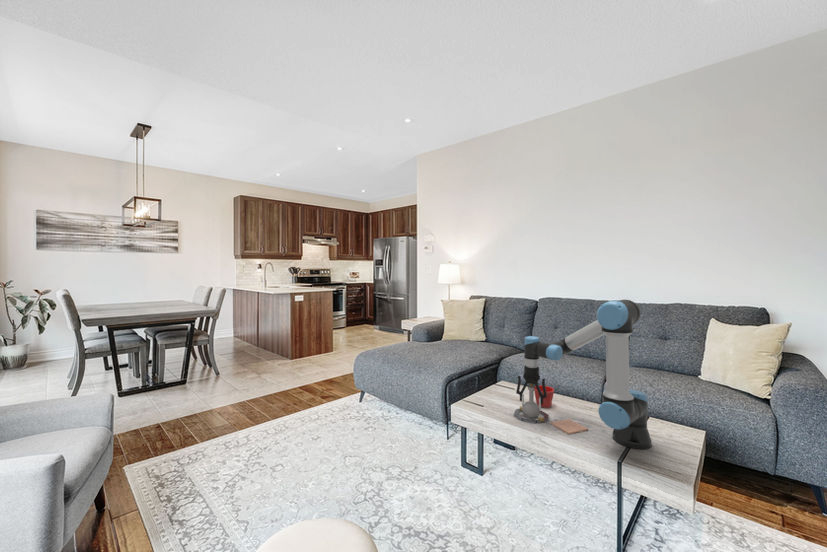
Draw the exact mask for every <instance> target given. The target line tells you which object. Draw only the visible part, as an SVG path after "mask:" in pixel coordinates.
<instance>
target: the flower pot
mask: <svg viewBox="0 0 827 552" xmlns="http://www.w3.org/2000/svg"><path fill="white" fill-rule="evenodd" d="M538 385H539V384H538ZM534 386H535V385H534ZM539 387H540V389H541V392H542V394H543V395H544V393H543V387H542V384H541V385H539ZM545 387H546V393H547V397H546V398H543V404H541V408H546V409H547V408H550V407H551V406H552V403H553V398H554V395H555V394H554V393H555V389H554V388H553V387H551V386H548V385H545ZM534 396H535V403H537V404H538V406H539V397H540V395H539V393H538V390H537V388H536V386H535V390H534Z"/></svg>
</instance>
